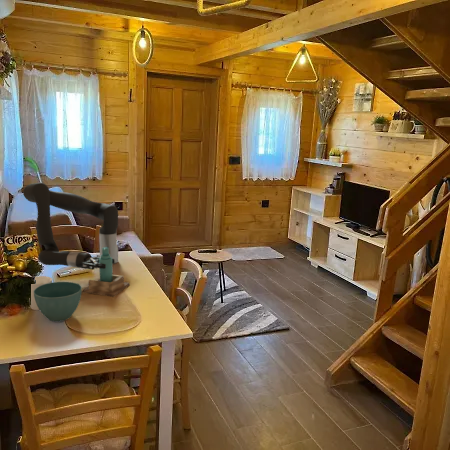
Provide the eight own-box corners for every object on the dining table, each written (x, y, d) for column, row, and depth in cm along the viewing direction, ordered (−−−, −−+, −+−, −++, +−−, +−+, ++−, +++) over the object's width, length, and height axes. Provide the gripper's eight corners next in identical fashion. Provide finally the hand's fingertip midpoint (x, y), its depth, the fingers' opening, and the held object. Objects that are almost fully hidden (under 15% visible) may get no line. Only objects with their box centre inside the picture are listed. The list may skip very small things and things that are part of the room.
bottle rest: (82, 292, 214) (82, 281, 212) (100, 281, 229) (99, 271, 228) (114, 296, 210) (113, 285, 209) (129, 285, 225) (129, 275, 224)
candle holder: (48, 311, 191) (46, 284, 189) (24, 310, 191) (23, 283, 189) (56, 302, 201) (55, 276, 198) (34, 301, 201) (33, 275, 198)
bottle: (106, 282, 223) (105, 245, 218) (115, 285, 220) (114, 248, 215) (97, 286, 218) (96, 248, 214) (105, 289, 215) (104, 250, 210)
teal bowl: (25, 320, 183) (23, 291, 180) (60, 305, 198) (59, 278, 196) (57, 331, 175) (56, 301, 172) (92, 314, 190) (91, 286, 188)
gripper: (70, 256, 212) (102, 260, 209) (86, 248, 226) (116, 252, 222) (71, 271, 214) (102, 276, 210) (87, 263, 227) (117, 266, 224)
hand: (109, 263), depth 216 cm, fingers open, 8 cm apart
